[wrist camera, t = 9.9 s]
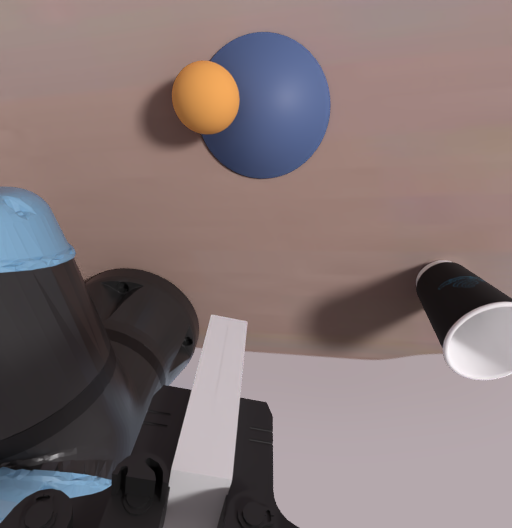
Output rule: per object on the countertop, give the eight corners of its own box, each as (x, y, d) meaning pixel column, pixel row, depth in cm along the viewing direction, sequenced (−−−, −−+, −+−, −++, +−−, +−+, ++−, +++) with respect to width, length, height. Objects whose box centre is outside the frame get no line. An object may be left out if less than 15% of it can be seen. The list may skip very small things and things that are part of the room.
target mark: (257, 202, 36) (257, 203, 36) (169, 105, 32) (168, 105, 32) (356, 116, 32) (357, 116, 32) (269, -5, 28) (269, -6, 28)
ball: (169, 142, 29) (195, 135, 34) (234, 132, 27) (251, 126, 32) (151, 65, 27) (181, 70, 31) (220, 50, 25) (241, 57, 30)
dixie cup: (446, 231, 36) (512, 284, 27) (491, 277, 38) (567, 342, 29) (385, 281, 39) (424, 346, 29) (430, 322, 41) (480, 395, 31)
